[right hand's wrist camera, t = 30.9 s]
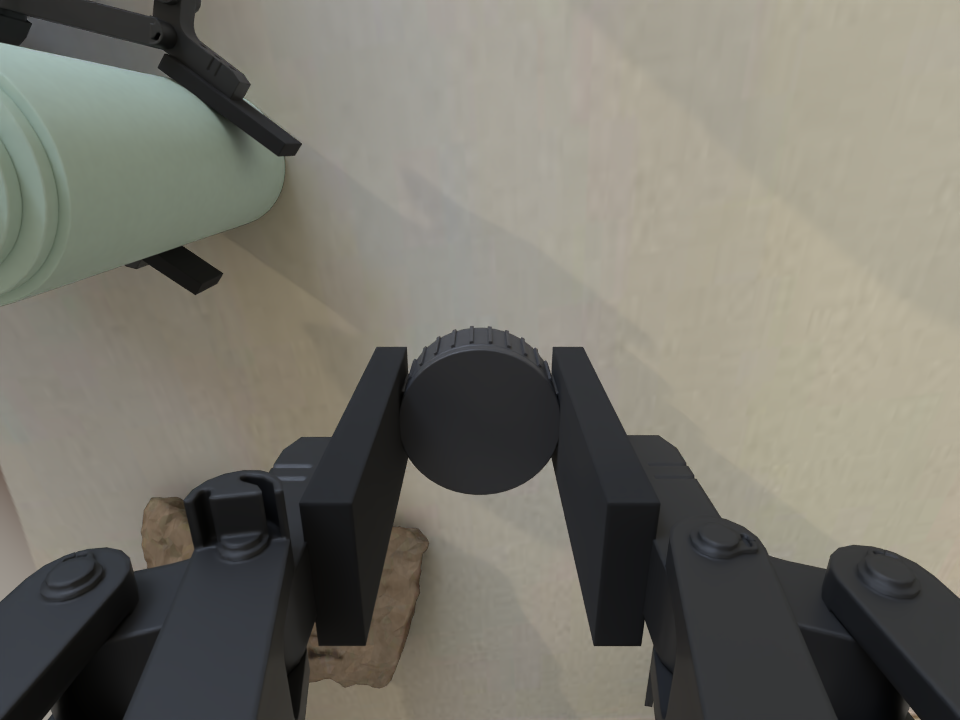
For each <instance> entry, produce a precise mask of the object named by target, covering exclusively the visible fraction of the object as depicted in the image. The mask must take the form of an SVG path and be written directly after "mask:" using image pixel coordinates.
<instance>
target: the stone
mask: <svg viewBox="0 0 960 720" xmlns="http://www.w3.org/2000/svg"><path fill="white" fill-rule="evenodd" d="M141 534H142V538H143V539H142V549H143V552H144V558H145V560H146V562H147V569H148V568H153V567H158V566H162V565H167V564H172V563H176V562H179V561H183V560H186V559H189V558H191V556H192V554H193V551H194V546H193V542H192V537H191V533H190V529H189V524H188V520H187V515H186V511H185V506H184V502H183V499H181V498H178V497H170V498H161V497H156V498H151V499H150V501H149V503H148V505H147V506H146V508H145V509H144V514H143V525H142V529H141ZM428 545H429V542H428V540H427V538H426V537H425V536H424V535H423V534H422V532H421V531H420V530H419V529H417V528H403V527H400V526H399V527H392V531H391V536H390V540H389V545H388V549H387V554H386V558H385V563H384V567H383V571H382V576H381V580H380V585H379V589H378V594H377V598H376V603H375V607H374V611H373V616H372V620H371V625H370V629H369V634H368V638H367V643H366V646H318V639H317V631H316V624H315V623H314V626H313V629H312V632H311V635H310V638H309V641H308V644H307V652H308V659H309V666H310V676H309V682H317V681H320V680H323V679H332V680H334V681H335V682H337V683H340V684H341V685H342V686H343V687H348V686H352V685H355V684H359V685H369V686H371V687H375V688H382V687H385V686H387V685H388V683H389V682H390V681H391V680H392V676H393V674H394V672H395V670H396V667H397V664H398V661H399V659H400V656H401V653H402V651H403V648H404V645H405V642H406V639H407V636H408V633H409V629H410V624H411V620H412V617H413V615H414V613H415V604H416V600H417V598H418V596H419V593H420V589H419V587H420V585H419V579H420V575H421V563H422V555H423V553H424V552H425V551H426V550H427V548H428Z"/></svg>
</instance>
